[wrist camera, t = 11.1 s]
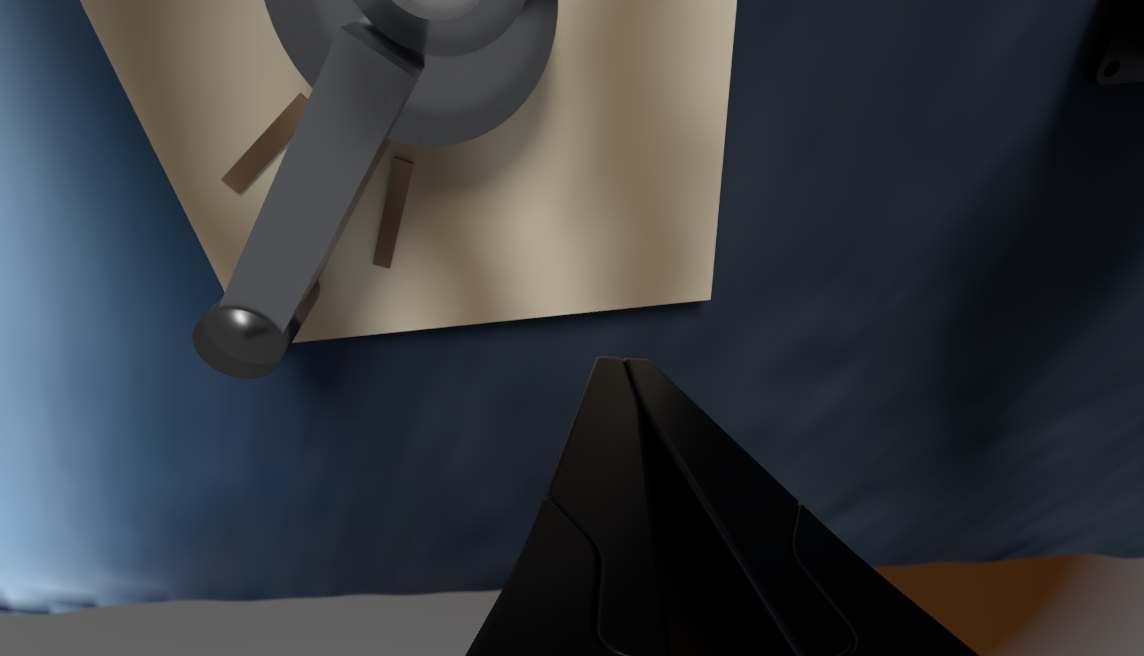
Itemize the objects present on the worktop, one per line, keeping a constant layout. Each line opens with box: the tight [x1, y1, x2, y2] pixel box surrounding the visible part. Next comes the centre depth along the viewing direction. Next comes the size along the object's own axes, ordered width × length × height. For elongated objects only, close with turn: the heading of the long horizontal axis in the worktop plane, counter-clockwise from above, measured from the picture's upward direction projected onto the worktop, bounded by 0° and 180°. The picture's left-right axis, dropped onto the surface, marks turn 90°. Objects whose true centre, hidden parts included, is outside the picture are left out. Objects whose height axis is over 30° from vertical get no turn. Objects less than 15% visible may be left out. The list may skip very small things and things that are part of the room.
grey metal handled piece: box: [193, 0, 558, 378], centre depth 15 cm, size 15×7×4 cm, turn 145°
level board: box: [80, 0, 737, 343], centre depth 16 cm, size 18×20×1 cm
